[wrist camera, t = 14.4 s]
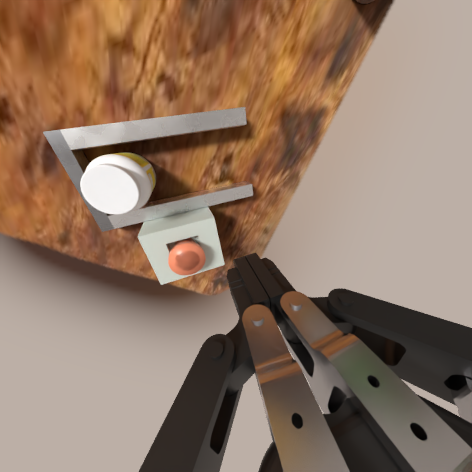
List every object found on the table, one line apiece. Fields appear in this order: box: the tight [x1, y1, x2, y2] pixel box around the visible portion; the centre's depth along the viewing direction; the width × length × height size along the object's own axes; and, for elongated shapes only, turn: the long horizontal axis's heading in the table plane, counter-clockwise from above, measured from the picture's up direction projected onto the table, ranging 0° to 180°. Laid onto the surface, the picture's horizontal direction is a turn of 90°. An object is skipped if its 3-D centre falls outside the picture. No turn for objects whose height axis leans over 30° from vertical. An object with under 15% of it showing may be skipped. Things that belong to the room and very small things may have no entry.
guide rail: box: [43, 107, 253, 232], centre depth 25 cm, size 24×12×3 cm, turn 98°
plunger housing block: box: [138, 207, 225, 285], centre depth 28 cm, size 10×9×8 cm
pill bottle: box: [80, 152, 156, 215], centre depth 21 cm, size 6×6×11 cm
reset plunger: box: [168, 238, 206, 275], centre depth 25 cm, size 5×5×4 cm
